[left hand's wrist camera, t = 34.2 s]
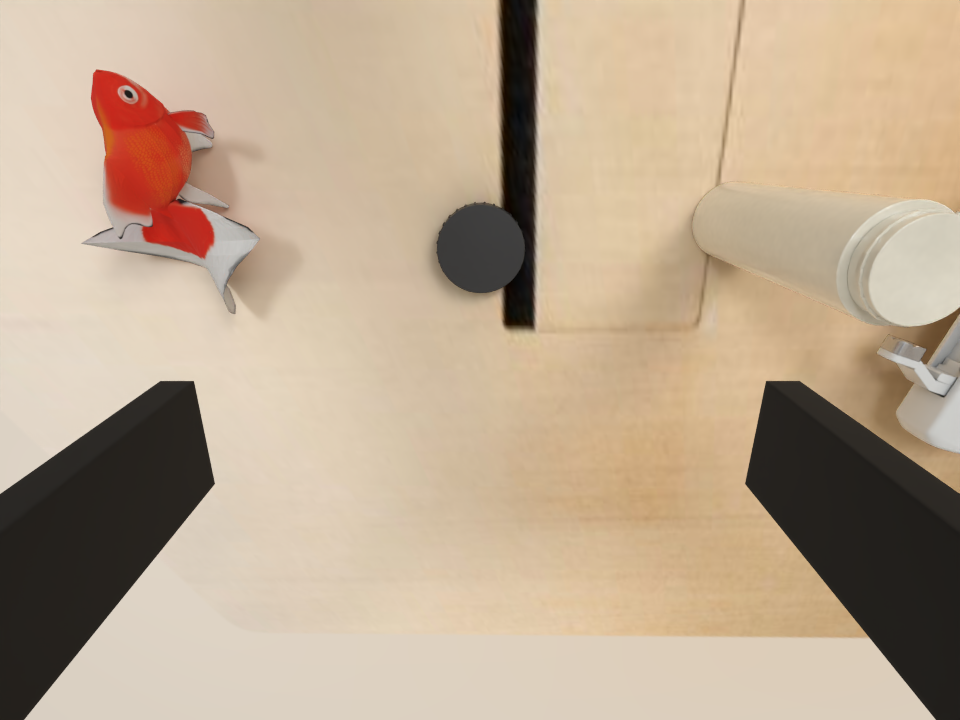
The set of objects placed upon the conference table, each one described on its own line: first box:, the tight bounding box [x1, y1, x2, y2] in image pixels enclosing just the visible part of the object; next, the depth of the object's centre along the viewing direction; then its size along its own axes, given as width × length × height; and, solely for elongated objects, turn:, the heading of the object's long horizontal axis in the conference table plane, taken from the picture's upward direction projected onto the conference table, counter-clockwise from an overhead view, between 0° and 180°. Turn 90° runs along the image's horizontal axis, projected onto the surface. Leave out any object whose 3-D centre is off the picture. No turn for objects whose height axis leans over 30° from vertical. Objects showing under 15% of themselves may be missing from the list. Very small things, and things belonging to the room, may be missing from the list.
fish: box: [81, 70, 260, 314], centre depth 35 cm, size 11×16×10 cm
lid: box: [437, 202, 525, 293], centre depth 40 cm, size 6×6×2 cm
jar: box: [692, 181, 960, 327], centre depth 31 cm, size 6×6×19 cm
